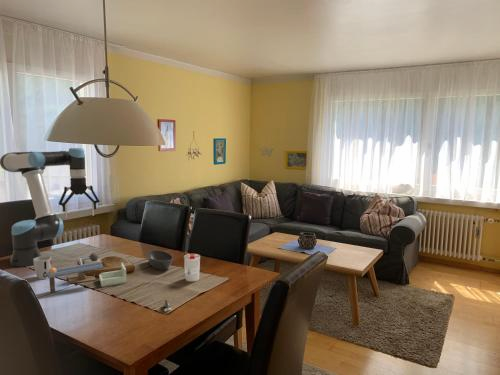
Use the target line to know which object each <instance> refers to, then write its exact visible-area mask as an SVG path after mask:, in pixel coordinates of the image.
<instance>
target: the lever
mask: <svg viewBox="0 0 500 375" xmlns="http://www.w3.org/2000/svg"><path fill="white" fill-rule="evenodd" d="M98 259H99V256H98V254H97V253H96V252H91V253H90V254H89V256H85V257H79V258H78V260H79V264H80V265H78V264H77V265H73V266H68V267H62V268H61V267H60V268H56V270H57V272H56V273H51V274H50V273H49V271H48V278H47V279H49V278H53V277H54V278H57V277H63V276H70V275H76V274H78V273H80V272H85V273H87V272H92V271H95V270H100V269H101V270H103V269H104V265H103V262H102V261H97V260H98ZM83 260H84V261H85V260H90V261H91V262H90V263H85V264H84V265H83V264H82V263H83ZM96 261H97V262H96Z"/></svg>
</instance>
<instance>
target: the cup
mask: <svg viewBox="0 0 500 375" xmlns="http://www.w3.org/2000/svg"><path fill="white" fill-rule="evenodd" d="M33 262H34V265H33V268H34V270H35V275H36V276H37V279H38V280H44V279H49V278H48V271H49V269H50V268H52V256H51V255H41V256H40V257H36V258H34V259H33Z"/></svg>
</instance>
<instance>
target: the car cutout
mask: <svg viewBox="0 0 500 375" xmlns="http://www.w3.org/2000/svg"><path fill="white" fill-rule="evenodd" d="M168 302H169V301H168V299H167V298H165V300H164V303H162V304H161V307H162V308H164V306H165V308H164V309H163V310H164V311H165V312H170V311H172V310H173V308H172V307H169V306H170V303H168ZM169 310H170V311H169Z"/></svg>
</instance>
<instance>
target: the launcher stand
mask: <svg viewBox="0 0 500 375" xmlns="http://www.w3.org/2000/svg"><path fill="white" fill-rule="evenodd" d="M76 263H77V266H78V265H80V261H79V259H78V260H77V262H76ZM82 264H83V265H84V264H86V263H85V260H82ZM85 273H86V272H80V273H76V274H69V275H67V278H68V285H74V284H82V283H87V282H92V281H96V277H95V275H94V276H86V275H85ZM48 279H49V293H51V294H53V293H55V292H56V281H55V277H53V278H48Z"/></svg>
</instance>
